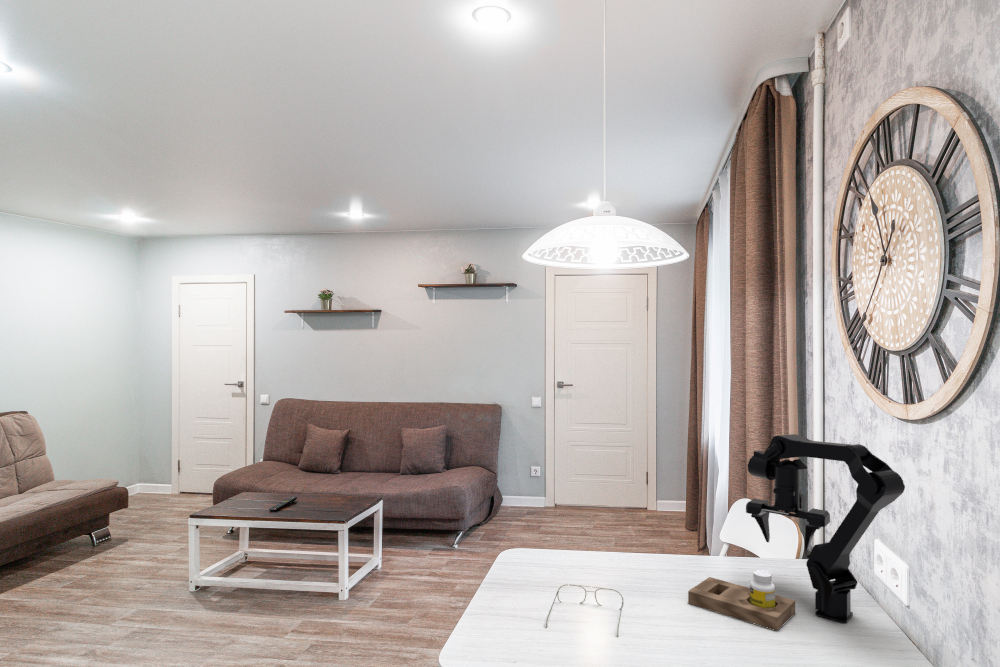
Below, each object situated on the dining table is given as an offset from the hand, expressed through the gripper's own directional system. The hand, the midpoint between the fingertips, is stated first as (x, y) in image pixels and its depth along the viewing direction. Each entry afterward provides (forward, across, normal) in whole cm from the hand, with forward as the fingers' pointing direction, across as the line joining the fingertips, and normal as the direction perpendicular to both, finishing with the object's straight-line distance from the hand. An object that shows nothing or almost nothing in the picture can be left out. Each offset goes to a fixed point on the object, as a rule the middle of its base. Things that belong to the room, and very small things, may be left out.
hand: (786, 546), depth 157 cm
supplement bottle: (+12, +1, +16) cm, 20 cm away
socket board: (+12, +6, +16) cm, 21 cm away
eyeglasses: (+13, +32, +44) cm, 56 cm away
